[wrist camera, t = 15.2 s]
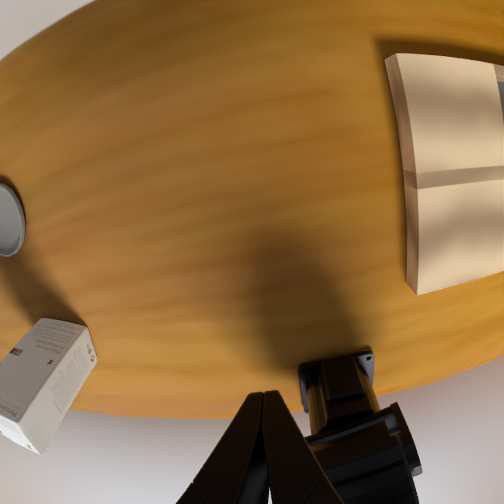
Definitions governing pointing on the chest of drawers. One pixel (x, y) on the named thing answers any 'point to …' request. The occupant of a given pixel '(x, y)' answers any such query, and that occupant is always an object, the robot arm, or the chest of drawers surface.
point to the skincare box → (43, 380)
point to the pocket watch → (10, 222)
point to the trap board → (450, 166)
